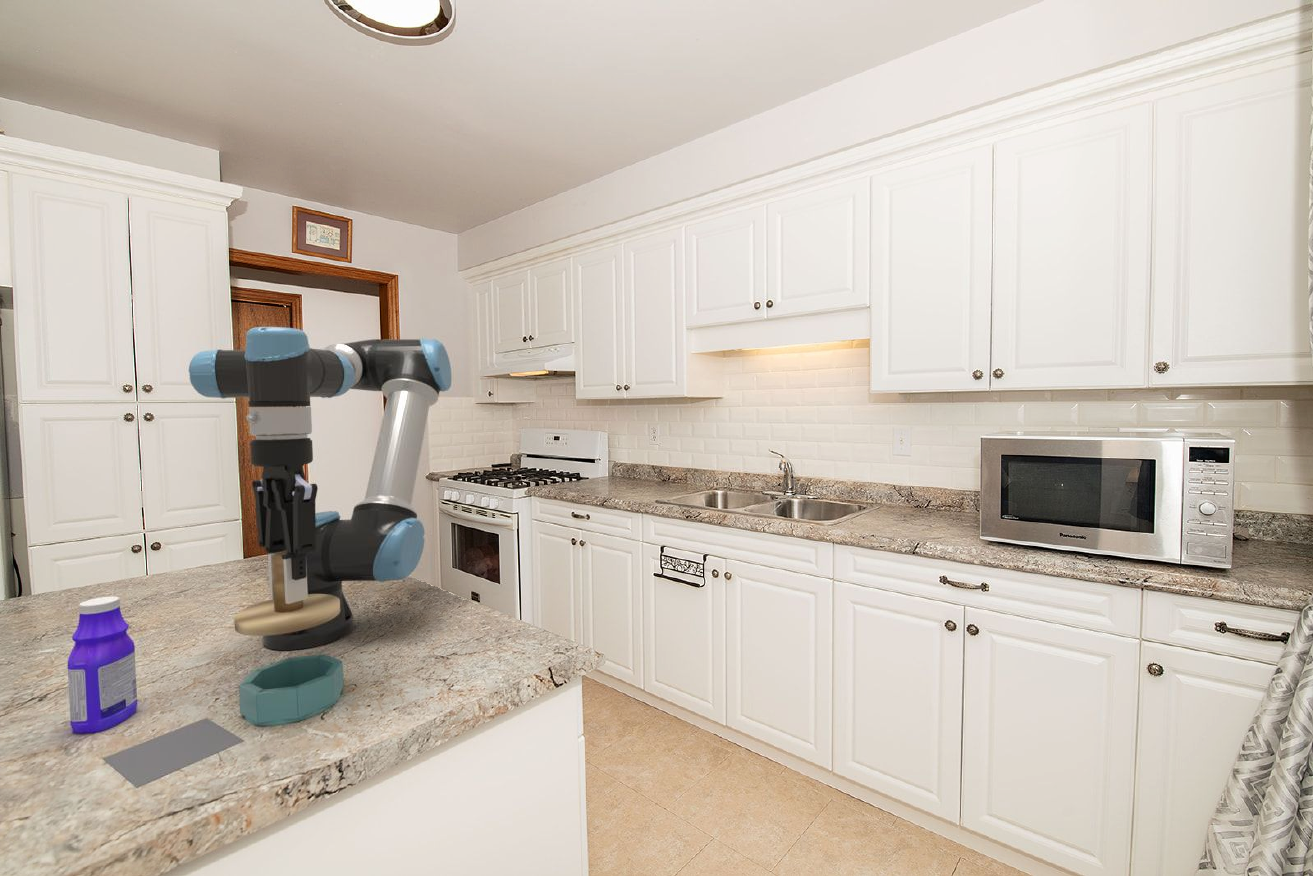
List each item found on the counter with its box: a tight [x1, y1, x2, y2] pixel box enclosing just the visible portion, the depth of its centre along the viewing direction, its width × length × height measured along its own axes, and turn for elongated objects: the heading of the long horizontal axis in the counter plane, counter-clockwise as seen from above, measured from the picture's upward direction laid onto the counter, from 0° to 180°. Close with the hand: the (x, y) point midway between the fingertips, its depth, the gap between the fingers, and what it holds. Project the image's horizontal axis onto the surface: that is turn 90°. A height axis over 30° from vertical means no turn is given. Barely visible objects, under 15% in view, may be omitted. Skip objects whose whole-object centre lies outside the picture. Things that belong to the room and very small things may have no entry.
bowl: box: [238, 653, 345, 727], centre depth 86 cm, size 12×12×5 cm
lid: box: [233, 551, 340, 637], centre depth 85 cm, size 13×13×10 cm
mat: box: [102, 717, 245, 788], centre depth 75 cm, size 11×11×1 cm
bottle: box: [67, 596, 138, 734], centre depth 82 cm, size 7×6×17 cm
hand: (288, 598), depth 85 cm, fingers closed on lid, 3 cm apart
